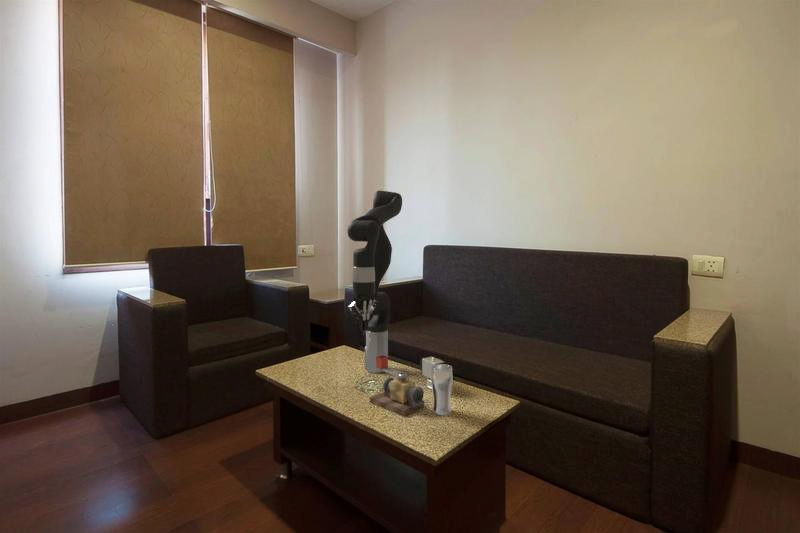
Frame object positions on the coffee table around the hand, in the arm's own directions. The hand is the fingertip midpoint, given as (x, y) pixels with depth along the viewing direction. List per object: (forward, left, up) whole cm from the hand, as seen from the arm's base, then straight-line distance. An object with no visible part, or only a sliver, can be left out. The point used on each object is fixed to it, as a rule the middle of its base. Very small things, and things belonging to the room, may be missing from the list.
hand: (363, 330), depth 145 cm
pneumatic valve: (+9, +27, -26) cm, 38 cm away
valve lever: (+6, +8, -16) cm, 18 cm away
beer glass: (+24, +13, -26) cm, 37 cm away
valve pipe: (+10, +6, -25) cm, 28 cm away
